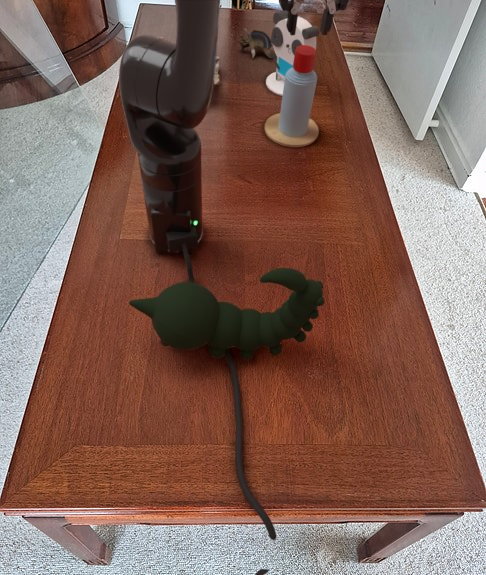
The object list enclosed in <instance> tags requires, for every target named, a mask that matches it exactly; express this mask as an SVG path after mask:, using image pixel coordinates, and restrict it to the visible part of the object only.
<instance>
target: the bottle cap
mask: <svg viewBox="0 0 486 575" xmlns="http://www.w3.org/2000/svg"><path fill="white" fill-rule="evenodd" d="M316 56H317V49H316V50H315V48H313V47H311V46H308V45H300V46H298V47H297V48H296V51H295V56H294V63H293V68H294V70H295V71H297V72H299V73H310V72H311V71H312V70H313V71H314V66H315V62H316Z"/></svg>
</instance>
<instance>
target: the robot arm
mask: <svg viewBox="0 0 486 575" xmlns="http://www.w3.org/2000/svg"><path fill="white" fill-rule="evenodd" d="M305 1H306V0H278V4H279V6H280V8H281V11H288V16H287V24H286V27H287V30H288V32H289V33H290V35H295V32H296V25H297V18H298V16H299V14H298V12H299V10H300V8H301V6H302V5H303V3H305ZM349 1H350V0H324V3H325V8H323V12H322V18H321V23H320V27H319V32H320V33H321V35H322V36H327V35H328V32H330V31H331V30H332V25H333V22H334V16H335V13H336V12H338V11H345V10H346V9H347V8H348V4H349ZM174 5H175V16H176V35H175V36H176V38H175V40H176V41H175V42H172V41H170V40H168V39H165V40H164V39H161V38H160V37H157V36H154V35H150V34H141V35H137V36H135V37H133V38H132V39H131V40H130V41H129V42H128V43H127V45H126V46H125V48H124V50H123V53H122V54H121V58H120V63H119V69H118V85H119V94H120V99H121V105H122V108H123V113H124V118H125V122H126V127H127V132H128V136H129V140H130V142H131V145H132V147H133V148H134V150H135V151H136V153H137V158H138V165H139V170H140V172H139V173H140V179H141V184H142V192H143V199H144V204H145V205H144V206H145V212H146V218H147V225H148V234H149V240H150V242H151V244H152V245H153V246H154V249H155V253H156V254H167V255H168V254H169V255H183V258H184V262H185V266H186V271H187V279H188V282H192V283H196V281H195V276H194V272H193V266H192V261H191V256H190V255H192V254H193V251H194V249H196V248H199V245H200V244H201V243H202V240H203V238H204V227H203V190H202V189H203V188H202V186H203V182H202V172H203V171H202V142H201V138H200V135H199V134H198V132H197V131H196V130H195V128H196V127H198V126H200V124H201V123H202V121H203V120H204V119H205V117H206V115H207V113H208V111H209V108H210V105H211V103H212V102H211V101H212V96H213V92H214V87H215V85H214V80H215V68H216V55H217V52H218V37H219V21H220V7H221V0H174ZM229 349H230V348H228V349H226V353H225V354H224V357H225V359H226V362H227V365H228V369H229V371H230V376H231V381H232V390H233V403H234V415H235V447H234V448H235V452H234V456H235V457H234V458H235V470H236V475H237V480H238V483H239V486H240V489H241V492H242V494H243V495H244V496H245V499H246V500H247V501H248V503H249V505H250V506H251V508H252V509H253V510H254V511H255V513H256V514H257V515H258V516H259V518H260V519H261V521H262V524H264V527H265V529H266V531H267V534H268V537H269V539H270V540H272V541H275V540H276V539H277V532H276V529H275V526H274V524H273V522H272V520H271V518H270V516H269V515H268V514H267V512H266V511H265V509H264V508H263V506H262V505H261V504H260V503H259V501H258V500H257V499H256V497H255V495H254V494H253V493H252V491H251V489H250V487H249V484H248V483H247V482H248V481H247V480H246V476H245V472H244V464H243V427H244V426H243V414H242V413H243V412H242V401H241V388H240V381H239V376H238V372H237V367H236V364H235V361H234V358H233V356H232V353H231V351H230V350H229ZM269 571H270V569H269V568H260V569H258V571H256V573H255V574H254V575H267V574H268V573H269Z"/></svg>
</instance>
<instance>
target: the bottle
mask: <svg viewBox="0 0 486 575" xmlns="http://www.w3.org/2000/svg"><path fill="white" fill-rule="evenodd" d="M317 82H318V75H317V73H316V72H315V70H314V69H313V70H312V71H311V72H310V73H299V72H297V71H295V70H294V68H293V67H292V68H290V69H289V70H288V71H287V72H286V75H285V82H284V89H283V96H281V105H280V110H279V113H280V118H279V125H278V128H279V131H280V132H281V133H282V134H284V135H286V136H289V137H300V136H303V135H304V134H305V133H306V132H307V128H308V123H309V118H310V119H311V114H312V108H313V103H314V98H315V92H316V87H317Z"/></svg>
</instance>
